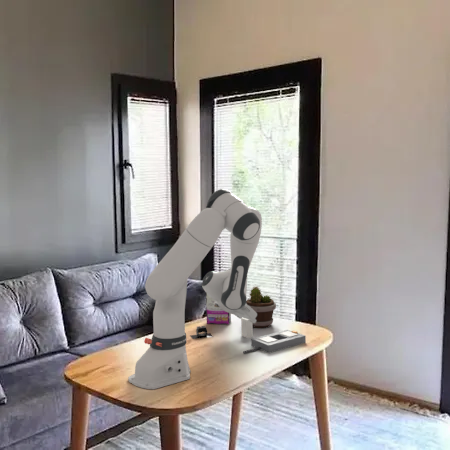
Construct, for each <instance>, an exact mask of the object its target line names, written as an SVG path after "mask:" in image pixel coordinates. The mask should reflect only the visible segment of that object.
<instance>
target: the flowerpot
mask: <svg viewBox="0 0 450 450" xmlns="http://www.w3.org/2000/svg"><path fill="white" fill-rule="evenodd" d="M252 285H253V284H252ZM261 290H262V289H261V288H260V287H259V286H258V285H256V284H254V285H253V286H252V287H251V289H249V292H248V295H249V298H248V299H246V304H247V305H248V306H250V307H251V308H252V309H253V310H254V311H255V312H256V313H257V316H256V318H255V319H256V320H257V321H256V323H255V324H254V323H253V328H257V329H266V327H267V328H269V327H271V326H272V324H273V322H274V318H273V316H274V312H275V310H276V309H277V304H276V302H275V300H274V299H273V298H271V295H268V294H267V295H264V294H263V293H262V291H261ZM264 327H265V328H264Z"/></svg>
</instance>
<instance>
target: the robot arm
mask: <svg viewBox="0 0 450 450" xmlns="http://www.w3.org/2000/svg"><path fill="white" fill-rule="evenodd" d="M262 219H263V218H262V214H261V213H260V211H259V210H257V209H256V208H255V207H251V206H248V205H247V204H246V203H245V202H244V201H243V200H242V199H240V198H239V197H238V196H236V195H235V194H234V193H233V192H232V191H230V190H229V189H225V188H220V189H218V190H215V191H214V192H213V193H212V194H211V195H210V196H209V198H208V201H207V204H206V206H205V208H203V209H201V211H200V212H199V213H198V214H197V215H196V216H195V217H194V218H193V219H192V221H190V223H189V224H188V225H187V226H186V228H185V229H184V231H183V232H182V233H181V235H180V236H179V238H178V239H177V240H176V242H175V243H174V244H173V246H172V247H170V249H169V250H168V252H167V253H166V254H165V255H164V256H163V257H162V258H161V260H160V261H159V262H158V264H156V266H155V267H154V269H153V270H152V271H151V272H150V273H149V274H148V276H147V279H146V281H145V284H144V288H145V292H146V294H147V295H148V296H149V297H150V299H152V300H154V301H155V304H154V309H153V311H152V319H153V320H152V324H153V334H152V337H151V338H149V337H146V338H144V340H143V343H144V344H145V345H149V347H148V349H147V350H146V351H145V352H144V353H143V355H141V357H139V358H138V360H137V361H136V363H135V368H134V369H135V370H134V373H133V374H131V375H129V376H128V378H127V379H128V382H129V383H130V384H131V383H132V385H134V386H136V387H138V388H141V389H148V390H156V389H160V388H162V387H166V386H170V385H174V384H176V383H181V382H183V381H186V380H187V381H188V380H190V379H191V375H190V374H191V368H190V364H189V360H188V354H187V347H186V345H187V339H188V338H187V333H186V327H185V325H186V322H185V321H186V320H185V318H186V317H185V309H186V302H187V301H186V300H187V291H188V290H187V289H188V281H189V277H190V276H191V275H192V274H193V272H194V271H195V270H196V269H197V268H198V267H199V266H200V264H201V263H202V262H203V260H204V259H205V257H206V256H207V254H208V253H209V252H210V251H211V250H212V248H213V246H214V245H215V244H216V242H217V241H218V240H219V237H220V236H221V234H222V232H223V231H224V230H225V229H226V230H227V231H228V232H229V233H230V238H229V242H230V244H229V246H230V261H231V262H230V264H231V266H230V268H228V269H227V270H224V271H213V270H212V271H208V272H207V273H206V274H205V275H204V277H203V278H202V282H201V286H202V289H203V290H204V292H205V294H206V293H207V294H208V295H209V296H210V297H211V298H212V299H214V300H215V302H214V304H215V305H216V306H219V307H220V308H221V309H223V310H224V311H225V312H228V313H231V315H233V316H236V317H237V318H238V319H240V320H241V318H246V319H249V320H250V321H251V322H252V323H254V324H255V323H256V321H257V320H256V319H255V318H256V316H257V313H256V312H255V311H254V310H253V309H252V308H251V307H250V306H248V305H247V304H246V301H247V289H248V273H249V269H250V266H251V263H252V261H253V258H254V255H255V253H256V250H257V248H258V245H259V242H260V238H261V234H262V228H263V227H262V224H263V221H262Z"/></svg>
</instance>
